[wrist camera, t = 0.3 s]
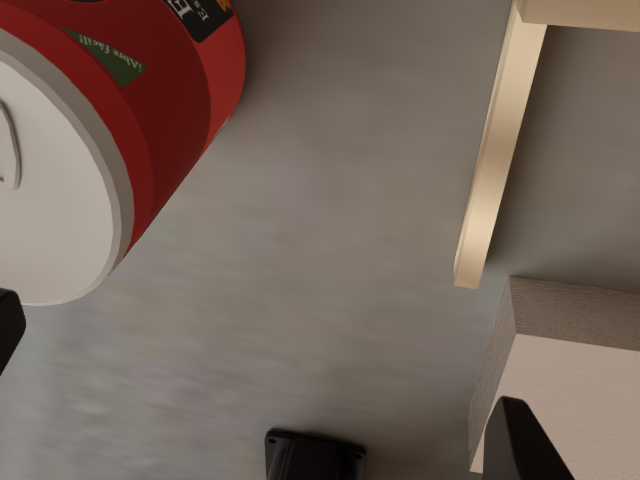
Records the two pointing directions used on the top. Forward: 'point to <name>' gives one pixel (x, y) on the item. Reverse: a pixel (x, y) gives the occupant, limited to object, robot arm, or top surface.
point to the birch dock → (520, 110)
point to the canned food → (102, 128)
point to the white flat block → (567, 374)
